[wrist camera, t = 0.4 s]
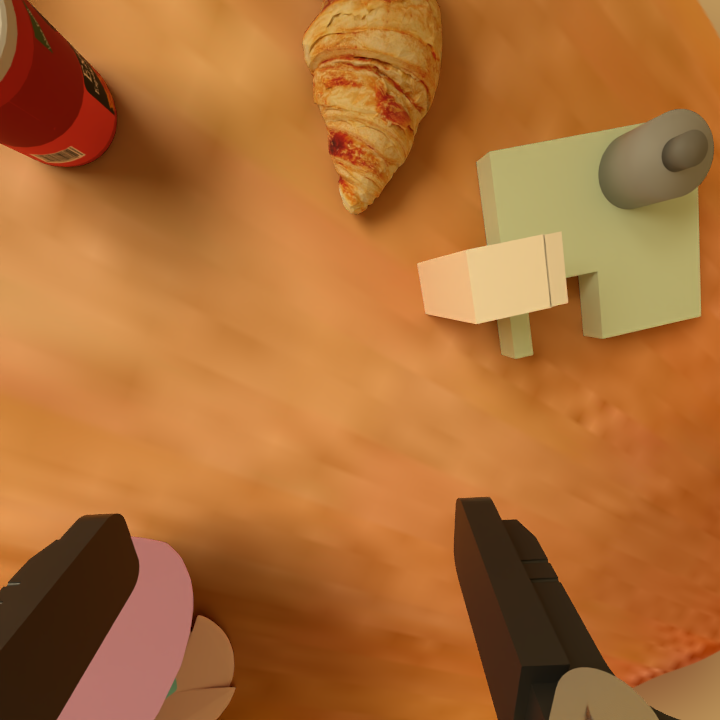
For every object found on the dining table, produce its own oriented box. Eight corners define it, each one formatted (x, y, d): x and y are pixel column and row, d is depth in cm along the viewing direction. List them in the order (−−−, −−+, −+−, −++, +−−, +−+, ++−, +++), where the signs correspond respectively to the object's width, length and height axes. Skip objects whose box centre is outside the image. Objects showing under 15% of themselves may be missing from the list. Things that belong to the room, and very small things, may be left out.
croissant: (379, 228, 36) (441, 223, 30) (279, 204, 30) (329, 191, 24) (412, -33, 32) (491, -104, 26) (304, -118, 26) (372, -237, 20)
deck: (476, 162, 33) (525, 123, 25) (668, 126, 34) (769, 79, 26) (501, 354, 36) (551, 371, 28) (675, 314, 37) (767, 320, 30)
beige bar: (417, 263, 33) (465, 250, 23) (483, 249, 34) (561, 230, 23) (425, 313, 34) (476, 324, 24) (489, 299, 35) (568, 303, 24)
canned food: (141, 106, 29) (39, -4, 18) (83, 193, 30) (-49, 137, 19) (44, 30, 27) (-129, -138, 17) (-15, 124, 28) (-219, 19, 17)
